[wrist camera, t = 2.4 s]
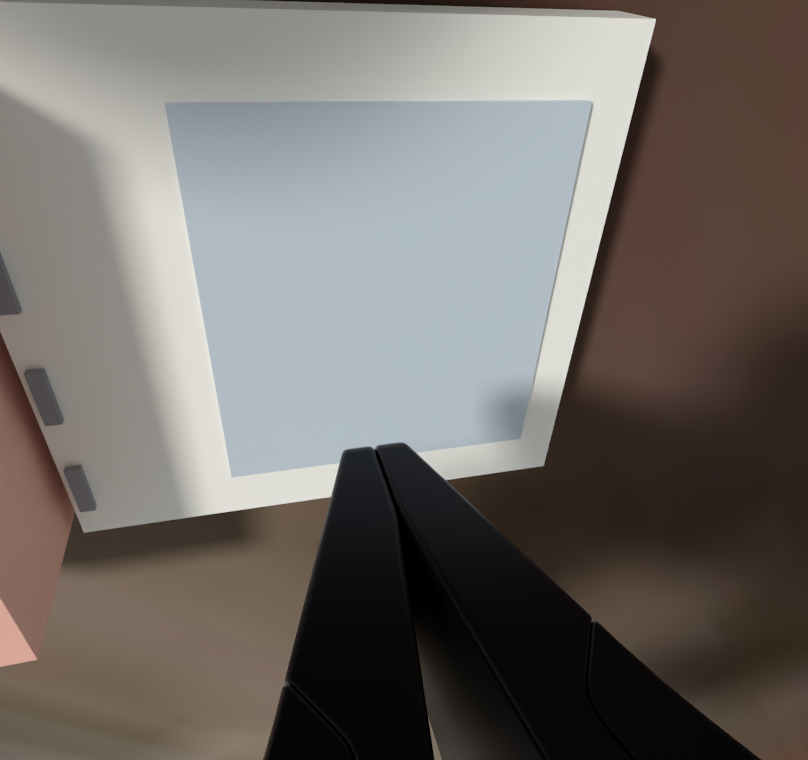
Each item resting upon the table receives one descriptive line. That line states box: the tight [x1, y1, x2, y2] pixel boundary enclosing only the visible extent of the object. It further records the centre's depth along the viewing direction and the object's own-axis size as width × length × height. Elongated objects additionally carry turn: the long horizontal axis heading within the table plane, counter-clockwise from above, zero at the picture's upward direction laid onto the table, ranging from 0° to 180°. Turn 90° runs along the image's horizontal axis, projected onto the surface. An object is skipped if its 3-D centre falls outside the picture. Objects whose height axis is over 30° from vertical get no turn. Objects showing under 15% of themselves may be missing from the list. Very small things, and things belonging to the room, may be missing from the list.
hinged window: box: [0, 0, 656, 533], centre depth 12 cm, size 11×10×1 cm
